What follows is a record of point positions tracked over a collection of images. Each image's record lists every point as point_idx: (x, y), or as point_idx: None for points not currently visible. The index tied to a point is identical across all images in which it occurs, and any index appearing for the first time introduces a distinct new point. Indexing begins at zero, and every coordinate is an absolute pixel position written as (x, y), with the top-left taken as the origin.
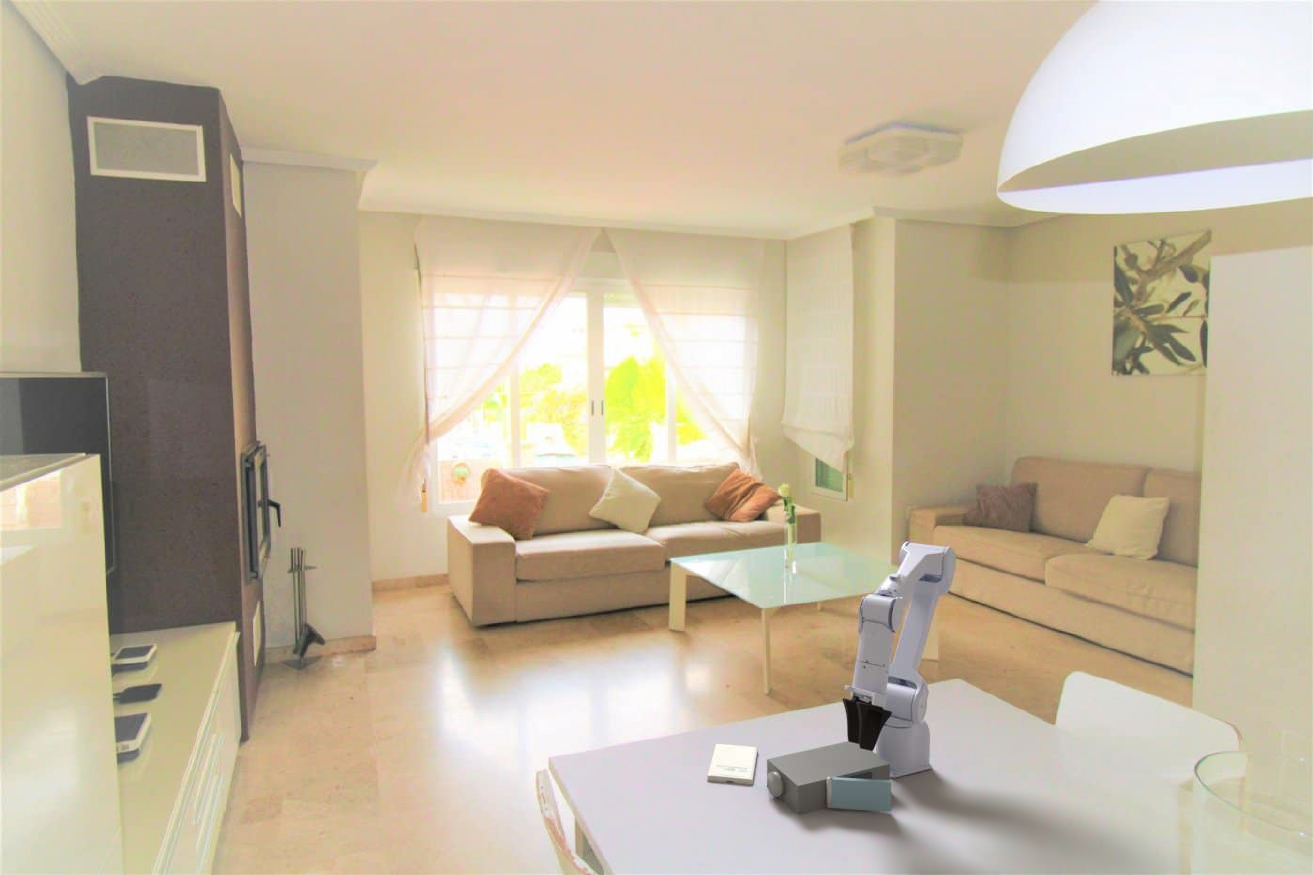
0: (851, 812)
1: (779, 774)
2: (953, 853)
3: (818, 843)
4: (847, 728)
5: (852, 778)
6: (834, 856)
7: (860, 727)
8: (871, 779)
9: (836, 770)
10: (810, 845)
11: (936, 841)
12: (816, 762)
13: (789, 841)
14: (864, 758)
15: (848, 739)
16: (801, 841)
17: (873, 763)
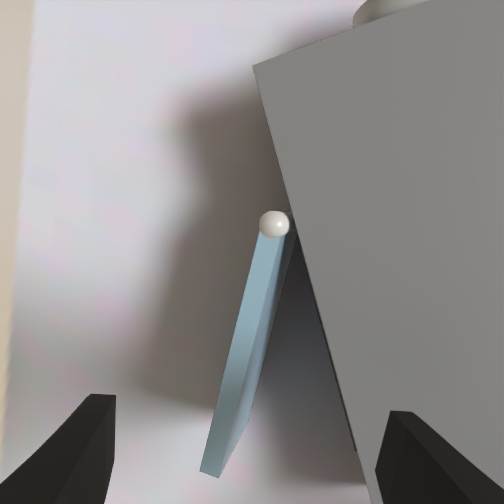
0: None
1: (400, 10)
2: None
3: (116, 125)
4: (456, 457)
5: (256, 326)
6: (55, 153)
7: (33, 479)
8: (236, 403)
9: (364, 290)
10: (109, 97)
11: None
12: (461, 219)
13: (134, 35)
14: None
15: (401, 415)
16: (130, 74)
17: None
